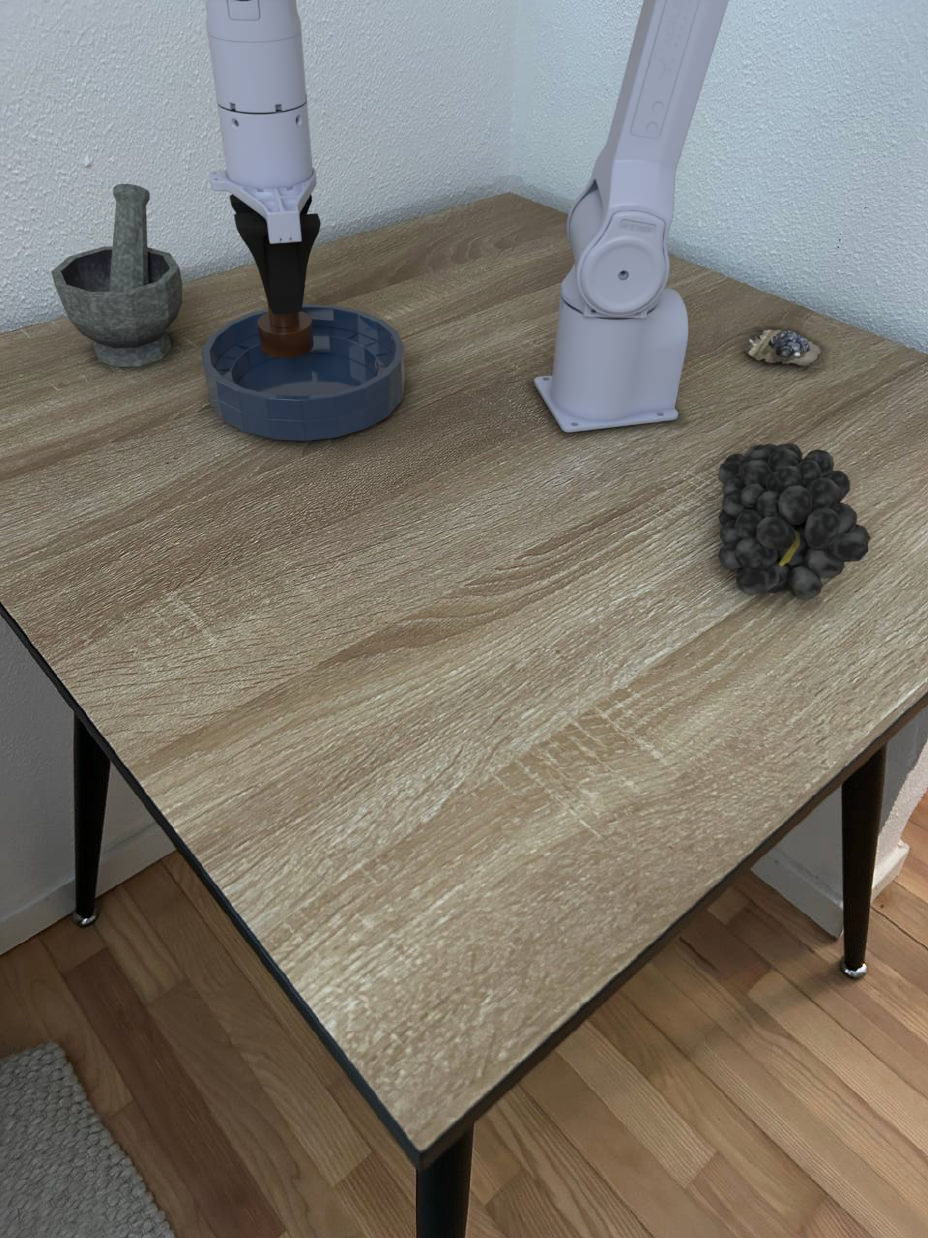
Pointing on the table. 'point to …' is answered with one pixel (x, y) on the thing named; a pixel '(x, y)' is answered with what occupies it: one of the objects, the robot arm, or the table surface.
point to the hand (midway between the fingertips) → (284, 302)
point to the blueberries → (783, 348)
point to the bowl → (307, 376)
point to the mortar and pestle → (123, 289)
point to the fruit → (786, 520)
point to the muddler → (285, 334)
